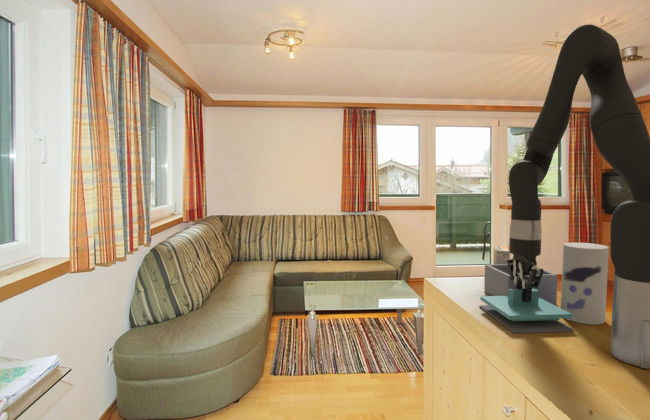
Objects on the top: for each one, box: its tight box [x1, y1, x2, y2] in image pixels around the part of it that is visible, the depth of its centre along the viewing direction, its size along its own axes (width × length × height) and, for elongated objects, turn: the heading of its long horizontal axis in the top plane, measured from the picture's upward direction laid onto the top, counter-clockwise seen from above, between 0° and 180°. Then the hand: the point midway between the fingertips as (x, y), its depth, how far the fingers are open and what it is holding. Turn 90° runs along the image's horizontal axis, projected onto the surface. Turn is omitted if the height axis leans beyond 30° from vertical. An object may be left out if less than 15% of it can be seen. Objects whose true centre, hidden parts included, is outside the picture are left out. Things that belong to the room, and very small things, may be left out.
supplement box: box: [492, 245, 511, 265], centre depth 137 cm, size 8×5×13 cm, turn 160°
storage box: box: [483, 264, 559, 305], centre depth 122 cm, size 15×15×9 cm
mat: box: [478, 304, 575, 334], centre depth 104 cm, size 19×15×1 cm
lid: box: [480, 288, 572, 321], centre depth 104 cm, size 16×16×6 cm
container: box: [560, 242, 610, 326], centre depth 103 cm, size 10×10×20 cm
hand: (523, 299), depth 104 cm, fingers open, 2 cm apart
